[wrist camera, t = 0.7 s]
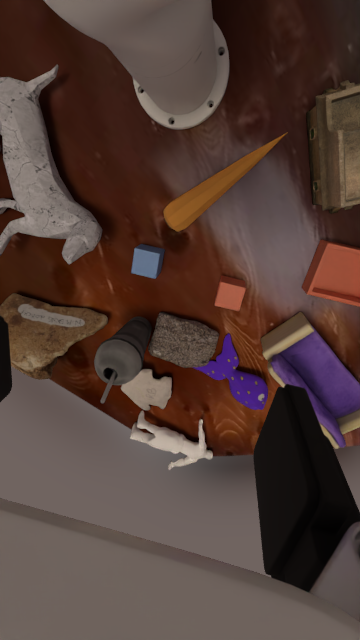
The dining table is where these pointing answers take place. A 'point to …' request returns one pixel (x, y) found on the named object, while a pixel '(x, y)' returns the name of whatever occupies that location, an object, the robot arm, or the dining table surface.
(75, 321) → the rock
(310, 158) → the wooden crate
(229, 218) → the dining table surface
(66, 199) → the statue
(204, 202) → the carrot
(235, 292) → the red block
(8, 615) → the robot arm
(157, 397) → the decorative object
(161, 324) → the stone
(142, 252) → the blue block
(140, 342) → the beverage cup
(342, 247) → the red bin
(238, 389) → the toy
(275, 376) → the toy sofa
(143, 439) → the figurine
